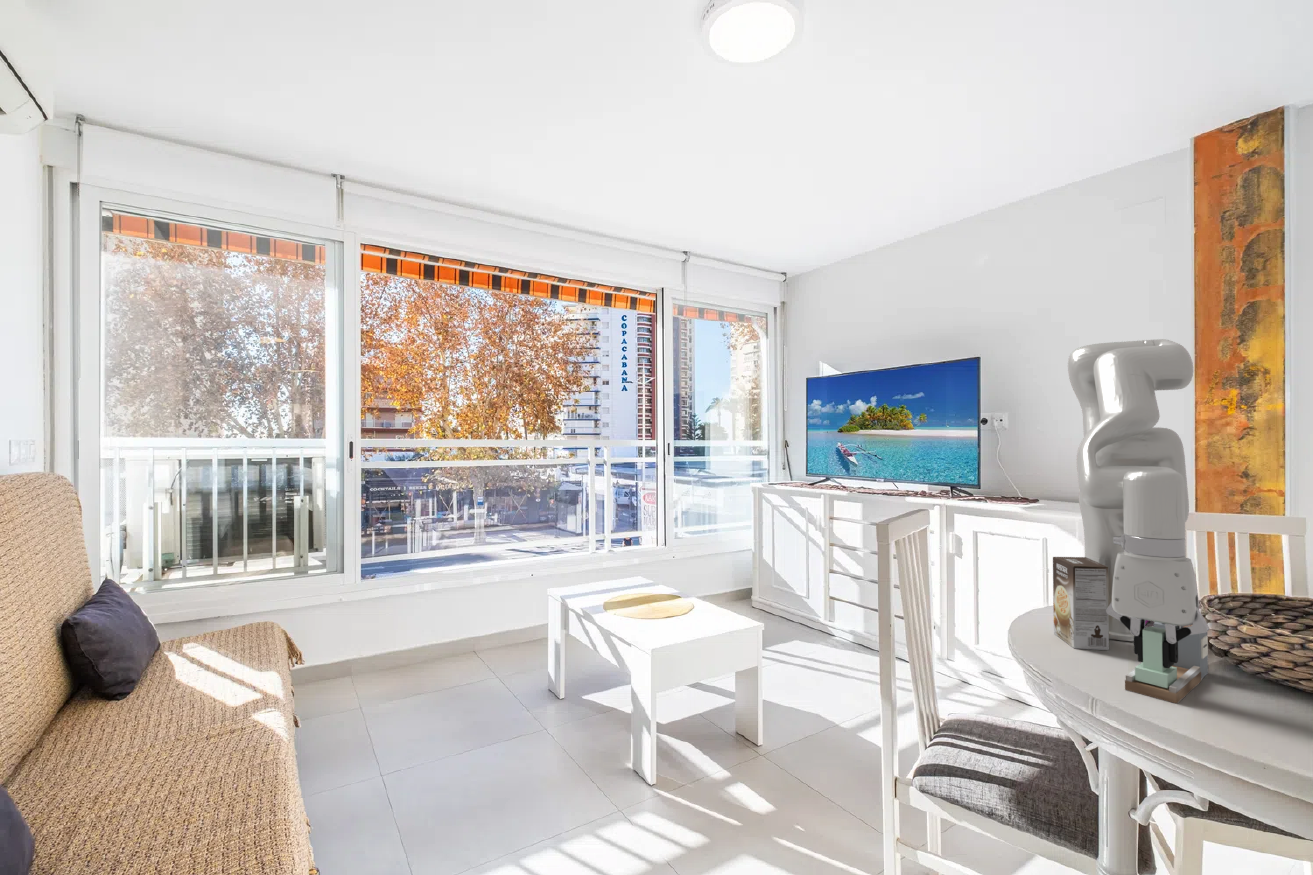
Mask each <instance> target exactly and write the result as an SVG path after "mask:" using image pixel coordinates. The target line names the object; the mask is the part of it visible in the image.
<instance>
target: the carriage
mask: <svg viewBox="0 0 1313 875" xmlns="http://www.w3.org/2000/svg"><path fill="white" fill-rule="evenodd" d="M1146 627H1147V628H1145V629H1143V662H1140V663H1139V664H1138V665H1136V666H1135V667H1134V669H1135V680H1137V681H1141V682H1145V683H1149V684H1153V685H1156V686H1160V687H1164V688H1169V686H1170V685H1172V684H1173V683H1174V682H1175V681H1176V680H1177V668H1176V667H1172V666H1171V667H1170V668H1169V669H1168V668H1164V667H1163V658H1162V643H1163V642H1164V641H1165V637H1166V629H1162V628H1157V627H1154V626H1153V625H1152V626H1151V625H1148V626H1146Z"/></svg>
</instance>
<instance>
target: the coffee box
mask: <svg viewBox="0 0 1313 875" xmlns="http://www.w3.org/2000/svg"><path fill="white" fill-rule="evenodd" d="M1052 589H1053V590H1052V596H1053V597H1052V599H1053V609H1052V610H1053V634H1054V635H1055V636H1057V637H1058V638H1060V639H1061V640H1062V641H1064V643H1066V644H1067V645H1069V646H1070V647H1071V648H1073V649H1079V650H1095V651H1096V650H1098V651H1099V650H1100V651H1109V650H1110V643H1109V642H1110V639H1109V614H1107V612H1106V610H1107V608H1108V607H1109V593H1108V567H1107V566H1105V565H1102V564H1100V563H1098V562H1096V561H1093V560H1091V559H1089V558H1087V557H1085V556H1079V557H1078V556H1052Z"/></svg>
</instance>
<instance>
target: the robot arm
mask: <svg viewBox="0 0 1313 875" xmlns="http://www.w3.org/2000/svg"><path fill="white" fill-rule="evenodd" d="M1193 363H1194V362H1193V360H1192V357H1191V355H1190V353H1189V351H1188V350H1187V348H1186V347H1184V346H1183V345H1181V343H1178V342H1175V341H1173V340H1171V339H1167V338H1166V339H1164V338H1160V339H1159V338H1158V339H1144V340H1143V339H1142V340H1129V341H1128V340H1127V341H1114V342H1113V341H1112V342H1099V343H1092V344H1087V345H1086V344H1085V345H1083V346H1081V347H1078V348H1075V349H1074V350H1072V351H1071V353H1070V354H1069V356H1068V360H1067V371H1068V380H1069V382H1070V385H1071V387H1072V390H1073V392H1074V394H1075V396H1076V399H1077V401H1078V402H1079V405H1080V408H1081V411H1082V412H1081V413H1082V414H1081V415H1082V425H1083V426H1082V427H1083V431H1082V432H1083V437H1082V439H1081V442H1080V444H1079V446H1078V449H1077V451H1076V452H1077V453H1076V454H1077V455H1076V470H1077V479H1078V480H1077V481H1078V482H1077V483H1078V488H1079V492H1078V504H1079V509H1080V514H1081V515H1080V516H1081V519H1082V525H1083V535H1084V536H1083V537H1084V538H1083V539H1084V557H1087V558H1089V559H1091V560H1093V561H1096V562H1098V563H1100V564H1102V565H1105V566H1107V567H1108V593H1109V607H1108V608H1107V610H1106V612H1107V614H1109V640H1117V641H1123V642H1124V641H1125V642H1133V654H1134V655H1137V662H1139V663H1142V662H1143V629H1145V628H1147V627H1148V626H1147V625H1145V620H1149V621H1151V622H1153V623H1155V622H1159V623H1165V629H1166V637H1165V641H1164V642H1163V643H1162V658H1163V667H1164V668H1168V669H1169V668H1170V667H1171V666H1173V665H1174V663H1177V662H1178V641H1179V640H1181V639H1183V638H1185V637H1186V636H1188V635H1194V634H1200V633H1205V632H1207V633H1208V632H1209V630H1210V626H1209V624H1208V622H1207V621H1206V619H1205V617H1204V615H1203V614H1202V613H1201V611H1200V601H1199V592H1198V585H1197V578H1196V573H1195V570H1194V569H1195V568H1194V564H1193V562H1192V559H1191V558H1189V557H1187V554H1186V550H1187V549H1186V547H1187V546H1186V543H1187V542H1186V522H1187V520H1188V518H1189V512H1190V506H1189V505H1190V501H1189V489H1188V480H1187V469H1186V468H1187V466H1186V458H1185V457H1186V456H1185V451H1184V448H1185V447H1184V444H1183V440H1182V439H1181V437H1180V436H1179V434H1178V433H1177V432H1176V431H1175V430H1173V429H1171V428H1167V427H1161V426H1160V427H1157V426H1156V425H1157V424H1158V422H1159V420H1160V417H1161V415H1160V410H1159V406H1158V402H1157V401H1158V400H1157V397H1156V396H1157V395H1156V391H1173V390H1174V391H1175V390H1182V389H1184V388H1187V387H1188V386H1189V385H1190V384H1191V382H1192V380H1193V376H1194V364H1193ZM1155 426H1156V427H1155ZM1191 623H1193V625H1190V624H1191ZM1187 625H1189V626H1187ZM1181 626H1184V627H1182V628H1181Z"/></svg>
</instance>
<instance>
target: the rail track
mask: <svg viewBox="0 0 1313 875" xmlns="http://www.w3.org/2000/svg"><path fill="white" fill-rule="evenodd" d="M1172 667H1176V668H1177V680H1176V681H1175V682H1174V683H1173V684H1172V685H1170V686H1169V688H1164V687H1160V686H1156V685H1153V684H1149V683H1145V682H1141V681H1137V680H1135V668H1134V669H1132V670H1131V671H1130V672H1128V673H1127V674H1126V675H1125V679H1124V690H1125V691H1128V692H1133V693H1137V694H1141V695H1144V696H1147V697H1151V698H1155V699H1158V700H1162V701H1166V702H1168V703H1173V704H1177V705H1178V703H1180V702H1181V701H1183V700H1182V699H1184V698H1185V697H1186V696H1187V695H1188V694H1189V693H1190V692H1191V691H1193V689H1194V688H1196V686H1198V685H1199V684H1200V683H1201V682H1202V679H1201V672H1200V667H1198V666H1193V667H1192V668H1190V669H1186V668H1182V667H1177V666H1172Z"/></svg>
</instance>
